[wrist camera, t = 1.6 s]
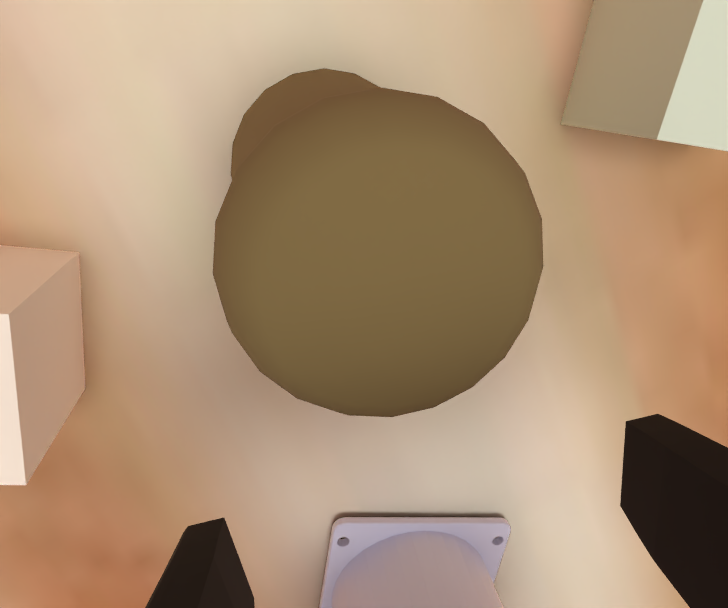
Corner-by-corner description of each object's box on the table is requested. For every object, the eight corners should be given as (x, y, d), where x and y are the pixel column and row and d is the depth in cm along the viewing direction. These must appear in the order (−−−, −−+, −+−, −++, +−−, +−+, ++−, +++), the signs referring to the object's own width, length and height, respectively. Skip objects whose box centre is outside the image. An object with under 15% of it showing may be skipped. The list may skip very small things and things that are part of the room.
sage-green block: (687, 145, 19) (819, 166, 14) (559, 123, 18) (656, 139, 13) (745, -17, 17) (917, -52, 12) (605, -50, 16) (737, -101, 12)
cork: (197, 108, 16) (65, 157, 6) (388, 39, 16) (578, -29, 6) (274, 286, 18) (275, 532, 8) (439, 225, 18) (635, 397, 8)
